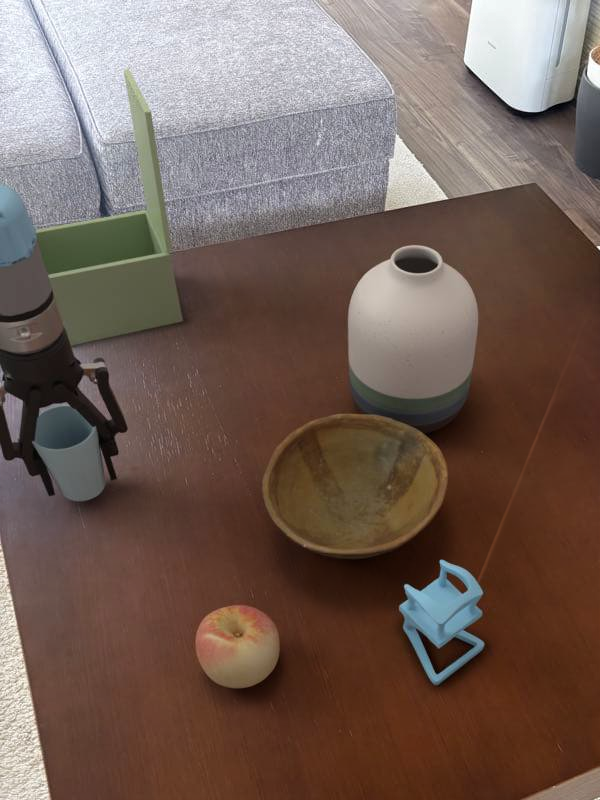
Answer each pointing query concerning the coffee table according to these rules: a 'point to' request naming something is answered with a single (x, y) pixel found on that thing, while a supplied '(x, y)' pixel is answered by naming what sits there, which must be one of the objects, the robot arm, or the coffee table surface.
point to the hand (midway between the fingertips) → (81, 479)
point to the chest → (110, 276)
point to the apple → (237, 646)
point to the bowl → (354, 485)
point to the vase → (412, 339)
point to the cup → (70, 452)
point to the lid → (148, 158)
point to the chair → (443, 616)
